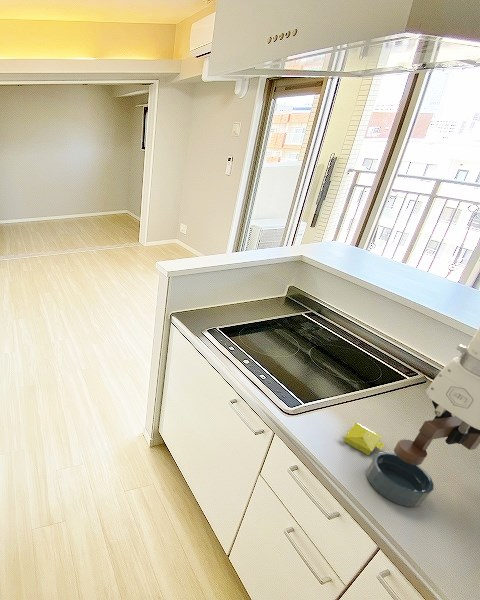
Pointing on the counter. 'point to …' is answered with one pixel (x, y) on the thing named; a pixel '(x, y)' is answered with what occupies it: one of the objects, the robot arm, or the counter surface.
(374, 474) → the bowl
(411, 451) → the brown drawer pull
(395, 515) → the counter surface
